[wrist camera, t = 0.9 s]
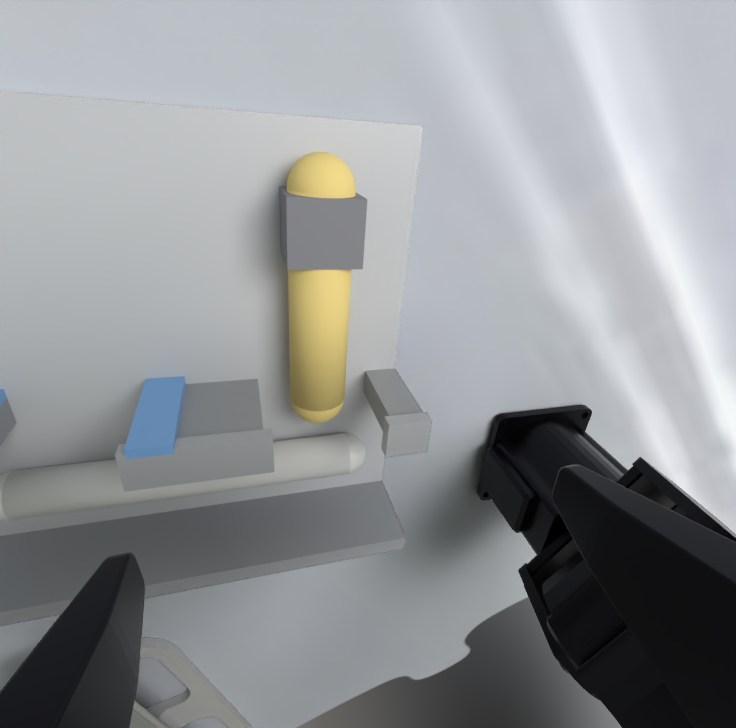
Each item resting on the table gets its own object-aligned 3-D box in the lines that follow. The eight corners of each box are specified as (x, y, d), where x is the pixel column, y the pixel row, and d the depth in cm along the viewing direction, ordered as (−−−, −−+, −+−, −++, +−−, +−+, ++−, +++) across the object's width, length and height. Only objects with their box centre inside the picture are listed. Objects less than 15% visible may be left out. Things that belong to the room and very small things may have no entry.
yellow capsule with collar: (278, 146, 15) (285, 151, 13) (352, 151, 16) (370, 157, 14) (284, 405, 21) (290, 437, 19) (340, 400, 21) (351, 430, 19)
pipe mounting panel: (417, 125, 17) (482, 130, 13) (377, 483, 26) (408, 558, 21) (-241, 71, 12) (-515, 47, 7) (-8, 540, 21) (-70, 653, 16)
